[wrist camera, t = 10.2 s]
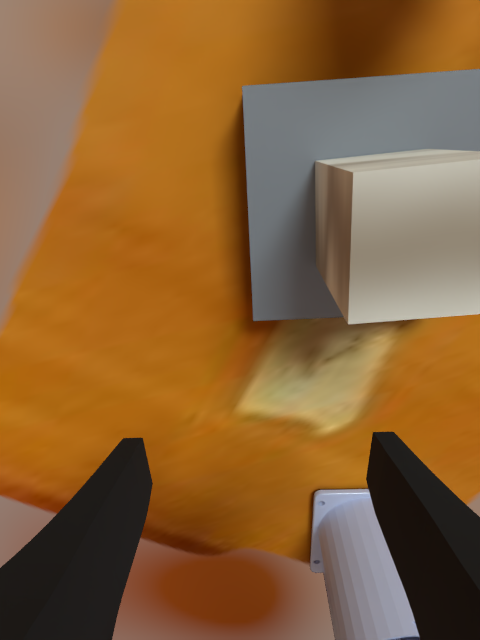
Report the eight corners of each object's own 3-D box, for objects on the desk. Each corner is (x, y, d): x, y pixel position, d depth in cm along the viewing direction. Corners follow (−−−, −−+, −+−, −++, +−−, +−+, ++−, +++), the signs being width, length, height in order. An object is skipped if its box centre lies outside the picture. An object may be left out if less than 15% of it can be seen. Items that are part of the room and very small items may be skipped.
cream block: (415, 256, 17) (494, 312, 11) (316, 265, 17) (347, 324, 12) (427, 148, 15) (531, 153, 9) (315, 160, 15) (353, 172, 10)
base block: (430, 289, 21) (457, 312, 18) (252, 298, 21) (253, 320, 18) (468, 79, 16) (511, 66, 14) (243, 95, 17) (242, 85, 14)
